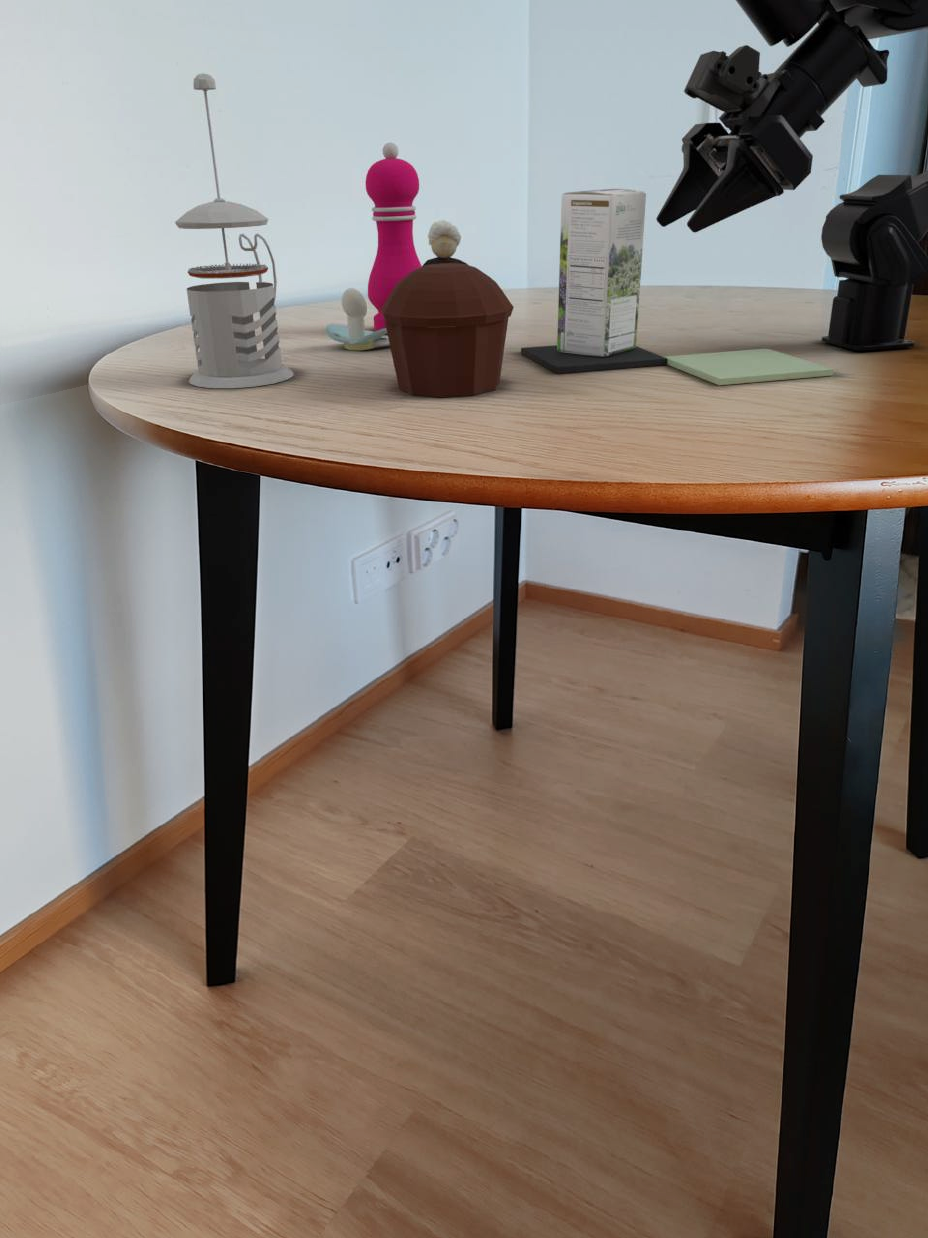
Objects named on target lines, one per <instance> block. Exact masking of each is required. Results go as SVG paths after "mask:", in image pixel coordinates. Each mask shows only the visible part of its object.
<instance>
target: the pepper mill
mask: <svg viewBox="0 0 928 1238" xmlns="http://www.w3.org/2000/svg"><path fill="white" fill-rule="evenodd" d="M399 151H400V150H399V148H398V145H397V144H396V143H395V142H391V141H390V142H387V143H385V144H384V145H383V147H382V155H383V158H382V159H380V160H377V161H376V162H374V163H372V164H371V166H370V167H369V168H368V170H367V173H366V177H365V192H366V194H367V196H368V197H369V199H370V200H371V201H372V202H373V205H374V207H372V208H371V211H372V218H371V219H372V221H373V222H375V224H376V230H377V247H376V254H375V258H374V261H373V265H372V268H371V271H370V274H369V277H368V282H367V297H368V300H369V302H370V303H371V305H372V306H373V307H374V308H375V309H376V310H377V313H376V314H374V316H373V329H374V332H375V331H378V330H380V329H384V328H386V325H385V319H384V317H383V314H382V312H381V308H382V307H383V305H384V304H385V302H386V300H387V299H388V297H389V295H390V293H391V292H392V290H393V289H394V287H395V286H396V284H397V283H398V282H399V281H400V280H402V279H403V278H404V277H405V276H406V275H408V274H409V273H410V272H412V271H413V270H415V269H418V268H420V267H422V266H423V264H422V263H421V261H420V259H419V256H418V254H417V250H416V247H415V243H414V234H413V232H414V231H413V229H414V220H416V219H417V215H416V210H417V207H416V206H415V205H413V204H414V203H413V202H414V201H415V198H416V197H417V195H418V194H419V191H420V179H419V175H418V172H417V170H416V169H415V167H414V166H413V165H412V164H411V163H410V162H408V161H406V160H405V159H402V158H398V156H399V154H400V153H399ZM385 335H388V334H387V333H386V334H385Z"/></svg>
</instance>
